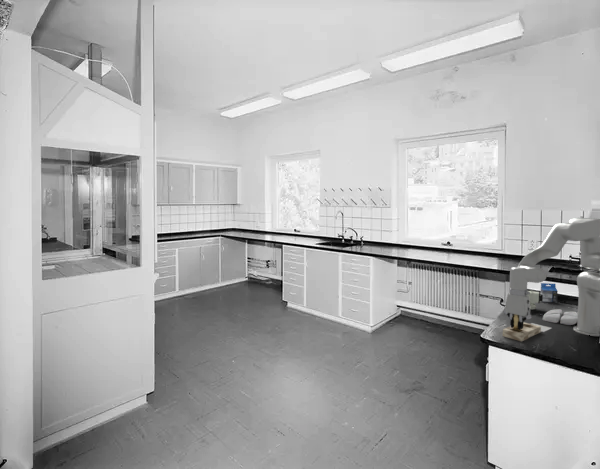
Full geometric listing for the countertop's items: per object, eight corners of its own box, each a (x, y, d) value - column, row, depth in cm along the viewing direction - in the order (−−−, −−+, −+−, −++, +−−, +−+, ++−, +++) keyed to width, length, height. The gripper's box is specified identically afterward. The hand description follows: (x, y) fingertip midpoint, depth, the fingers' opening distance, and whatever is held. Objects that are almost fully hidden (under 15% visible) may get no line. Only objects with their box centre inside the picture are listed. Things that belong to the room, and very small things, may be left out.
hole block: (540, 333, 185) (540, 326, 184) (521, 341, 174) (521, 334, 173) (522, 328, 192) (522, 321, 192) (502, 336, 181) (502, 329, 181)
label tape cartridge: (541, 302, 243) (542, 284, 242) (539, 300, 247) (540, 283, 246) (557, 303, 240) (558, 284, 239) (554, 301, 244) (555, 283, 243)
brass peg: (521, 333, 179) (521, 313, 179) (518, 334, 178) (518, 314, 177) (514, 331, 182) (515, 312, 181) (511, 332, 180) (512, 313, 179)
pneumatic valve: (542, 311, 222) (542, 292, 221) (520, 308, 229) (520, 289, 228) (542, 309, 227) (542, 290, 226) (520, 306, 233) (521, 288, 232)
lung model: (539, 321, 204) (548, 315, 222) (577, 328, 192) (583, 321, 210) (540, 309, 204) (548, 304, 222) (578, 316, 192) (584, 310, 210)
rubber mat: (552, 328, 191) (552, 328, 191) (543, 332, 185) (543, 331, 185) (531, 323, 199) (531, 323, 199) (522, 327, 194) (522, 326, 194)
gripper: (539, 294, 173) (538, 331, 175) (505, 288, 187) (504, 322, 188) (532, 296, 169) (530, 334, 171) (497, 290, 183) (496, 325, 184)
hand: (516, 327), depth 180 cm, fingers closed on brass peg, 2 cm apart
